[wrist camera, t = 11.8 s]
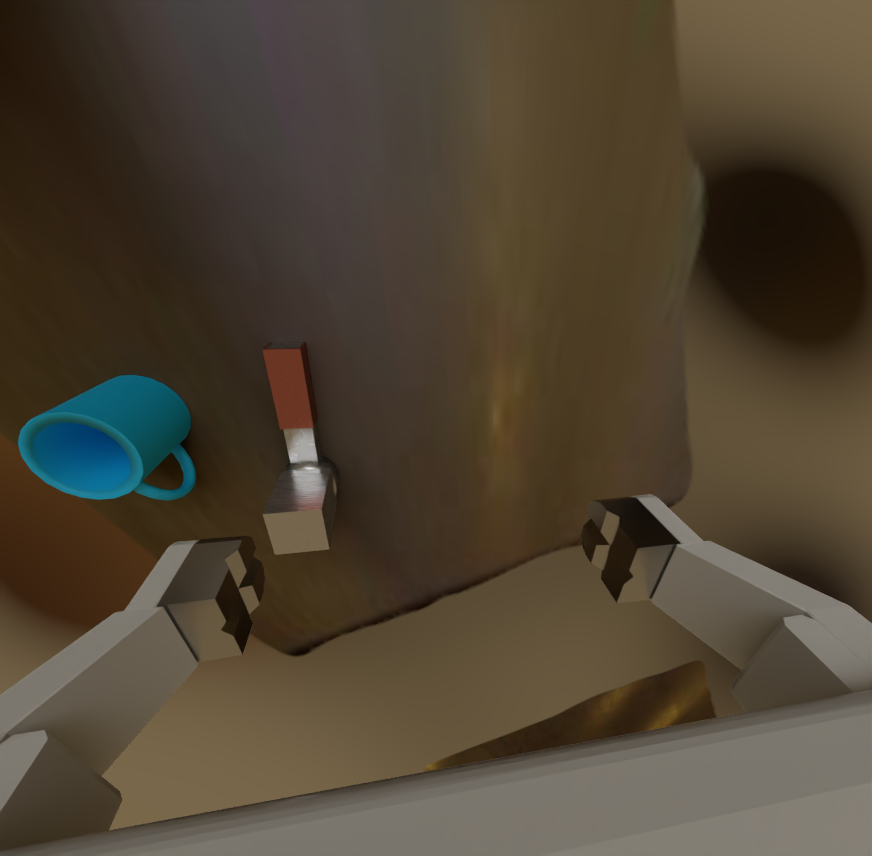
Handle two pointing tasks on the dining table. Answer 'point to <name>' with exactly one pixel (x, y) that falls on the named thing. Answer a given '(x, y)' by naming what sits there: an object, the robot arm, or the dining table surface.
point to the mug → (110, 440)
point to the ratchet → (296, 405)
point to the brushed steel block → (301, 511)
